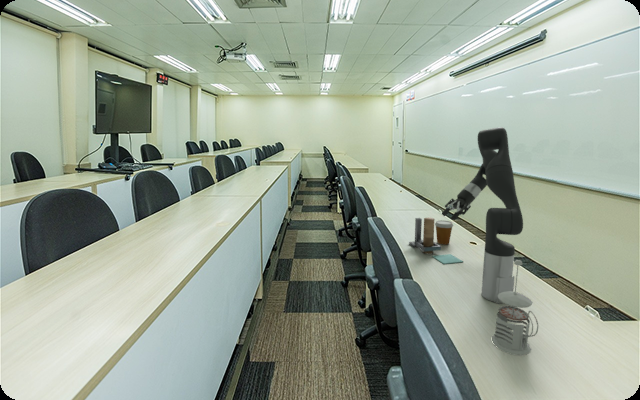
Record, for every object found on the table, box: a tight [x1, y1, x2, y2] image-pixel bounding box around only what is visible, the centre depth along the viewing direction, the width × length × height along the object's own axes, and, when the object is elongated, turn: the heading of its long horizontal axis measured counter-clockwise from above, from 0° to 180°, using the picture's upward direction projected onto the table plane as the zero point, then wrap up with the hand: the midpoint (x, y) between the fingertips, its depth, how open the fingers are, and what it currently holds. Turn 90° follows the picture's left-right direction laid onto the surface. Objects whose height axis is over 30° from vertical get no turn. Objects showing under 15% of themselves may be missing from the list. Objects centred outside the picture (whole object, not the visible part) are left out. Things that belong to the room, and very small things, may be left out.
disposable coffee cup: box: [434, 219, 454, 246], centre depth 173 cm, size 10×10×12 cm
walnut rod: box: [422, 217, 435, 255], centre depth 158 cm, size 5×5×18 cm
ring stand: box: [408, 217, 442, 252], centre depth 162 cm, size 18×9×16 cm, turn 10°
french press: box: [491, 259, 539, 356], centre depth 84 cm, size 10×12×25 cm
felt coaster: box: [431, 253, 464, 265], centre depth 149 cm, size 10×10×1 cm
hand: (447, 216), depth 158 cm, fingers open, 8 cm apart
